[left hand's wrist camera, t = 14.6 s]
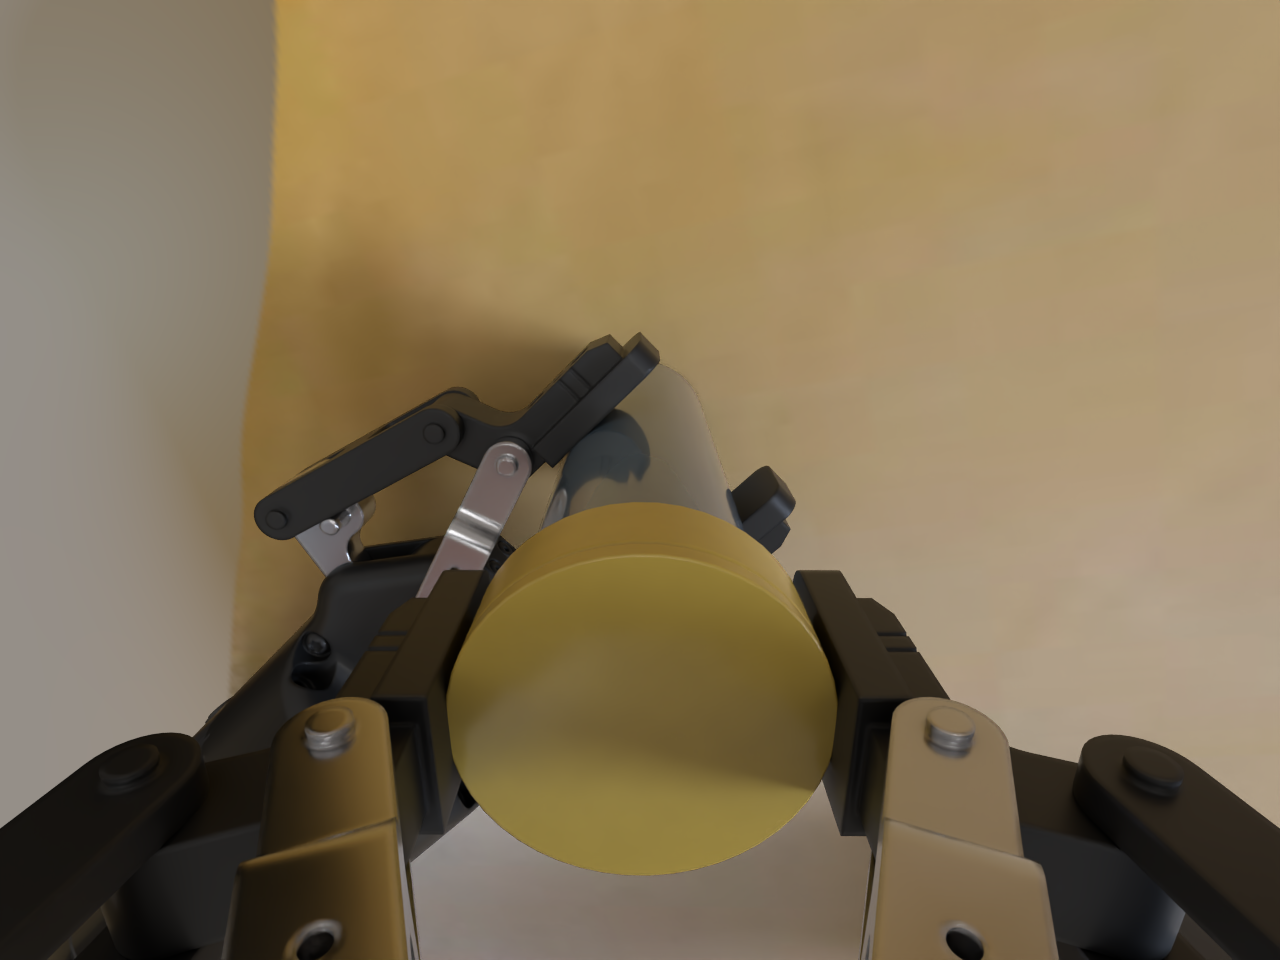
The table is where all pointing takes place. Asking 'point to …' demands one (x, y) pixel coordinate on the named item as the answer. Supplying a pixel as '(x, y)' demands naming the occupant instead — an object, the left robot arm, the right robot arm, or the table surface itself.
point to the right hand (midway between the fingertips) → (714, 418)
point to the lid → (641, 693)
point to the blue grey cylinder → (646, 456)
